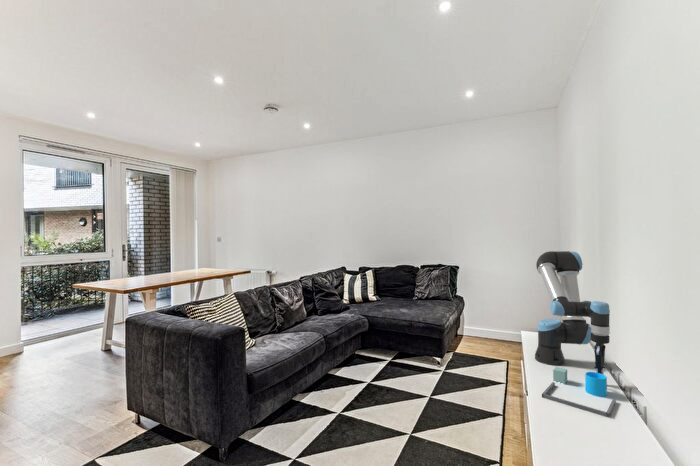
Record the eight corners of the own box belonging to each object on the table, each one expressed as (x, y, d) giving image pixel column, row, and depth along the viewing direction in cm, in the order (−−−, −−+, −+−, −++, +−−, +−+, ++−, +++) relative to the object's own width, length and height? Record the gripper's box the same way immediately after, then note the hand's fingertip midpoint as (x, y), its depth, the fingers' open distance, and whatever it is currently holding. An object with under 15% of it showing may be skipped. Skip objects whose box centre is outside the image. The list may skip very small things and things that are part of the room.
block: (556, 378, 180) (556, 366, 180) (567, 381, 176) (567, 369, 176) (553, 381, 176) (553, 369, 176) (564, 384, 173) (564, 372, 173)
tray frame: (552, 385, 172) (552, 382, 172) (615, 402, 155) (615, 399, 155) (541, 397, 160) (541, 394, 160) (609, 417, 142) (609, 414, 142)
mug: (606, 398, 158) (606, 380, 158) (585, 393, 163) (585, 376, 163) (606, 388, 168) (606, 371, 168) (585, 384, 173) (585, 367, 173)
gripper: (593, 329, 179) (593, 375, 180) (588, 335, 170) (588, 383, 170) (611, 332, 174) (611, 379, 174) (606, 338, 165) (607, 388, 165)
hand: (600, 381), depth 172 cm, fingers closed
